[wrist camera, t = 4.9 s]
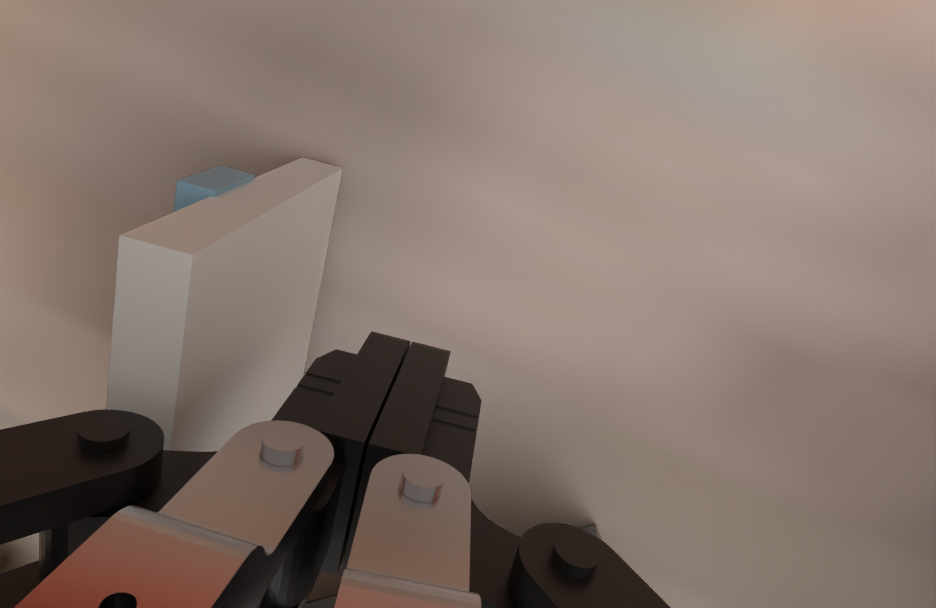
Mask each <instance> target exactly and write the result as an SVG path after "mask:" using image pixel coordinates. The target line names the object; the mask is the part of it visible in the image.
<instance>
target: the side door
mask: <svg viewBox="0 0 936 608" xmlns="http://www.w3.org/2000/svg"><path fill="white" fill-rule="evenodd" d="M342 170H343V168H340V167H336V166H333V165H329V164H325V163H322V162H318V161H314V160H311V159H307V158H303V157H302V158H299V159H297V160H295V161H292V162H290V163H288V164H285V165H283V166H281V167H278V168H276V169H274V170H271V171H269V172H267V173H264V174H262V175H260V176H257V177H255V178H254V175H255V174H252V173H248V172H244V171H241V170H237V169H233V168H230V167H226V166H222V165H221V166H218V167H215V168H212V169H209V170H206V171H203V172H200V173H197V174H194V175H191V176H188V177H185V178H182V179H180V180H177V187H176V196H175V206H174V212H173V213H170V214H168V215H166V216H163V217H161V218H159V219H156V220H154V221H152V222H149V223H147V224H145V225H142V226H140V227H138V228H135V229H133V230H130V231H128V232H126V233H123V234H121V235H119V246H118V259H117V272H116V286H115V299H114V312H113V326H112V339H111V352H110V366H109V379H108V392H107V406H106V410H123V411H129V412H134V413H137V414H141V415H143V416H145V417H148V418H150V419H151V420H153V421H154V422H156V423H157V424H158V425H159V426H160V428H161V429H162V431H163V434H164V448H163V450H172V451H195V452H212V451H219V450H220V449H221V448H222V447H223V446H224V445H225V444H226V442H227V441H228V440H229V439H230V438H231V437H232V436H233V435H234V434H235V433H237V432H238V431H239V430H241V429H242V428H244V427H246V426H249V425H251V424H254V423H258V422H264V421H271V420H272V419H273V417H274V416H275V415H276V413H277V412H278V410H279V409H280V408H281V406H282V405H283V404H284V402H285V401H286V399H287V398H288V397H289V395H290V394H291V393H292V391H293V390H294V388H295V387H297V385H298V383H299V382H300V380H301V379H302V377H303V376H304V370H305V365H306V360H307V354H308V349H309V344H310V339H311V333H312V328H313V323H314V317H315V312H316V307H317V302H318V296H319V291H320V286H321V280H322V275H323V270H324V265H325V259H326V254H327V249H328V243H329V238H330V233H331V228H332V222H333V217H334V212H335V207H336V201H337V196H338V191H339V185H340V180H341V175H342Z"/></svg>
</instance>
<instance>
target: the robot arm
mask: <svg viewBox="0 0 936 608" xmlns="http://www.w3.org/2000/svg"><path fill="white" fill-rule="evenodd" d="M450 352H451V351H447V350H443V349H439V348H435V347H432V346H428V345H424V344H420V343H416V342H412V344H411V346H410V341H407V340H403V339H400V338H396V337H392V336H388V335H384V334H380V333H376V332H371V333H370V334H369V336H368V338H367V339H366V341H365V343H364V344H363V346H362V348H361V349H360V351H359V353H358V354H357V355H356V354H352V353H348V352H344V351H340V350H337V349H336V350H334V351H332V352H330V353H327V354H325V355H323V356H321V357H319V358H316V360H315V361H314V362H313V364H312V365H311V366H310V368H309V369H308V371H307V372H306V375H304V376H303V377H302V379H301V380H300V382H299V383H298V385H297V387H295V388H294V390H293V391H292V393H291V394H290V395H289V397H288V398H287V399H286V401H285V402H284V404H283V405H282V406H281V408H280V409H279V410H278V412H277V413H276V415H275V416H274V417H273V419H272V420H271V421H264V422H258V423H254V424H251V425H249V426H246V427H244V428H242V429H241V430H239V431H238V432H237V433H235V434H234V435H233V436H232V437H231V438H230V439H229V440H228V441H227V442H226V444H225V445H224V446H223V447H222V448H221V449H220V450H219V451H212V452H195V451H172V450H163V448H164V434H163V431H162V429H161V428H160V426H159V425H158V424H157V423H156V422H154V421H153V420H151V419H150V418H148V417H145V416H143V415H141V414H137V413H134V412H129V411H123V410H93V411H87V412H82V413H77V414H72V415H68V416H63V417H58V418H54V419H49V420H44V421H39V422H35V423H30V424H25V425H21V426H16V427H11V428H7V429H2V430H0V545H1V544H4V543H7V542H10V541H13V540H16V539H20V538H23V537H26V536H29V535H32V534H35V533H38V532H39V561H36V562H33V563H30V564H27V565H24V566H21V567H19V568H16V569H13V570H10V571H7V572H4V573H1V574H0V608H305V604H306V598H307V596H308V595H309V593H310V592H311V590H312V588H313V586H314V583H315V581H316V579H317V576H318V574H319V571H320V572H324V573H328V574H332V575H336V576H337V573H338V571H339V568H340V566H341V563H342V560H343V558H344V561H343V566H342V571H341V575H340V576H341V577H342V580H341V583H340V587H339V591H338V595H337V599H336V603H335V606H334V608H670V607H669V606H668V605H667V604H666V603H665V602H664V601H663V600H662V599H661V598H660V597H659V596H658V595H657V594H656V593H655V592H654V591H653V590H652V589H651V588H650V587H649V586H648V585H647V584H646V583H645V582H644V581H643V580H642V579H641V578H640V577H639V576H638V575H637V574H636V573H635V572H634V571H633V570H632V569H631V568H630V567H629V566H628V565H627V564H626V563H625V562H624V561H623V560H622V559H621V558H620V557H619V556H618V555H617V554H616V553H615V552H614V551H613V550H612V549H611V548H610V547H609V546H608V545H607V544H606V543H605V542H603V541H602V540H600V539H599V538H598V537H596V536H594V535H592V534H591V533H589V532H587V531H584V530H582V529H580V528H577V527H574V526H570V525H566V524H559V523H546V524H540V525H537V526H534V527H532V528H531V529H529V530H527V531H526V532H525V534H524V535H523V536H522V538H520V537H518V536H516V535H514V534H512V533H510V532H509V531H507V530H505V529H503V528H501V527H499V526H498V525H496V524H495V523H493V522H492V521H490V520H489V519H488V518H487V517H486V516H484V515H483V514H482V513H481V512H480V510H479V509H478V508H477V507H476V505H475V504H474V502H473V501H472V498H471V489H470V486H469V478H470V471H471V465H472V458H473V452H474V445H475V439H476V431H477V426H478V418H479V413H480V406H481V399H480V397H479V395H478V394H477V392H476V390H475V388H474V386H473V384H471V383H467V382H463V381H459V380H455V379H451V378H447V377H445V373H446V369H447V365H448V360H449V356H450ZM344 555H345V557H344Z"/></svg>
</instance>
